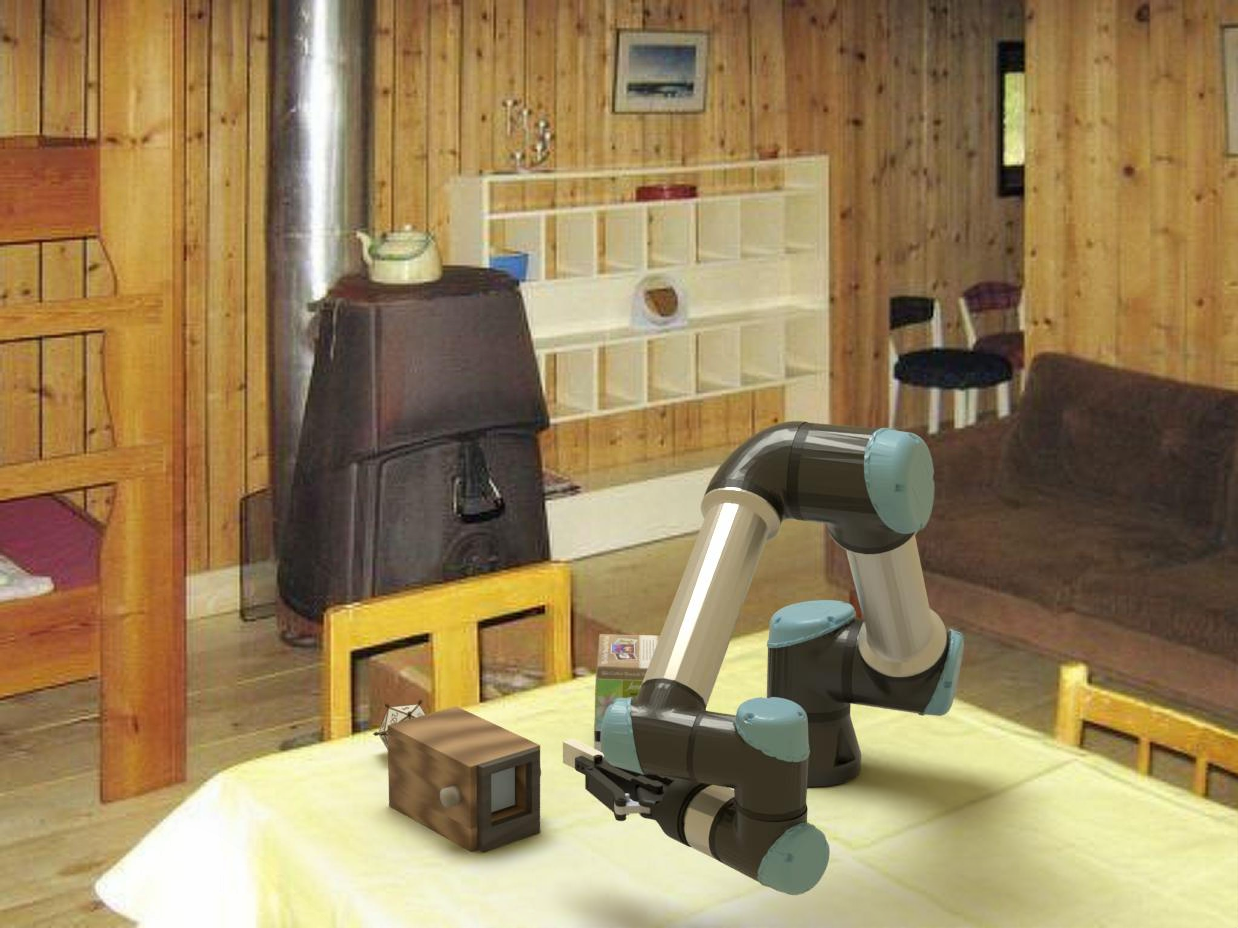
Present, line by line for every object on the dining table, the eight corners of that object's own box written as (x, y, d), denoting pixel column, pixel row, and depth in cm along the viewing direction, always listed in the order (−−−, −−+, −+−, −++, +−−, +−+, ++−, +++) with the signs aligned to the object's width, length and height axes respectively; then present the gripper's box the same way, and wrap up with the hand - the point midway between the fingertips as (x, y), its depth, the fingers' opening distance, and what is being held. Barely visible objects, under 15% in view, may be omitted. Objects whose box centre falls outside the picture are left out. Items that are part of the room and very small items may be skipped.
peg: (514, 804, 225) (514, 760, 224) (483, 814, 222) (482, 770, 220) (445, 768, 236) (445, 726, 235) (414, 778, 233) (413, 735, 231)
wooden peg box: (555, 826, 227) (556, 744, 224) (466, 858, 218) (465, 772, 215) (466, 781, 241) (465, 703, 238) (378, 808, 232) (377, 728, 229)
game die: (415, 786, 248) (423, 748, 241) (360, 761, 249) (367, 722, 242) (442, 738, 254) (451, 699, 247) (389, 713, 255) (396, 674, 248)
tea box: (665, 767, 246) (667, 666, 243) (593, 766, 247) (594, 665, 243) (664, 728, 261) (665, 632, 258) (595, 726, 261) (596, 631, 258)
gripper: (661, 865, 190) (524, 794, 207) (747, 830, 198) (609, 765, 215) (662, 800, 188) (524, 735, 205) (748, 768, 196) (609, 707, 213)
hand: (567, 750), depth 210 cm, fingers closed
